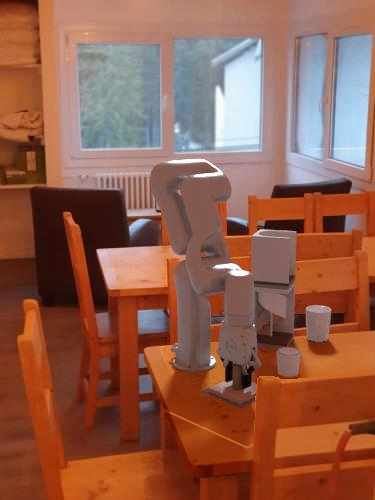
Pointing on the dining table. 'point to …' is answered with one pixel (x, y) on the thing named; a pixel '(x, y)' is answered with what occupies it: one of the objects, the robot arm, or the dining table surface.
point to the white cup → (318, 322)
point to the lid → (235, 387)
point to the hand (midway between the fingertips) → (238, 383)
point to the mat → (228, 400)
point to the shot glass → (288, 361)
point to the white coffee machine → (274, 287)
